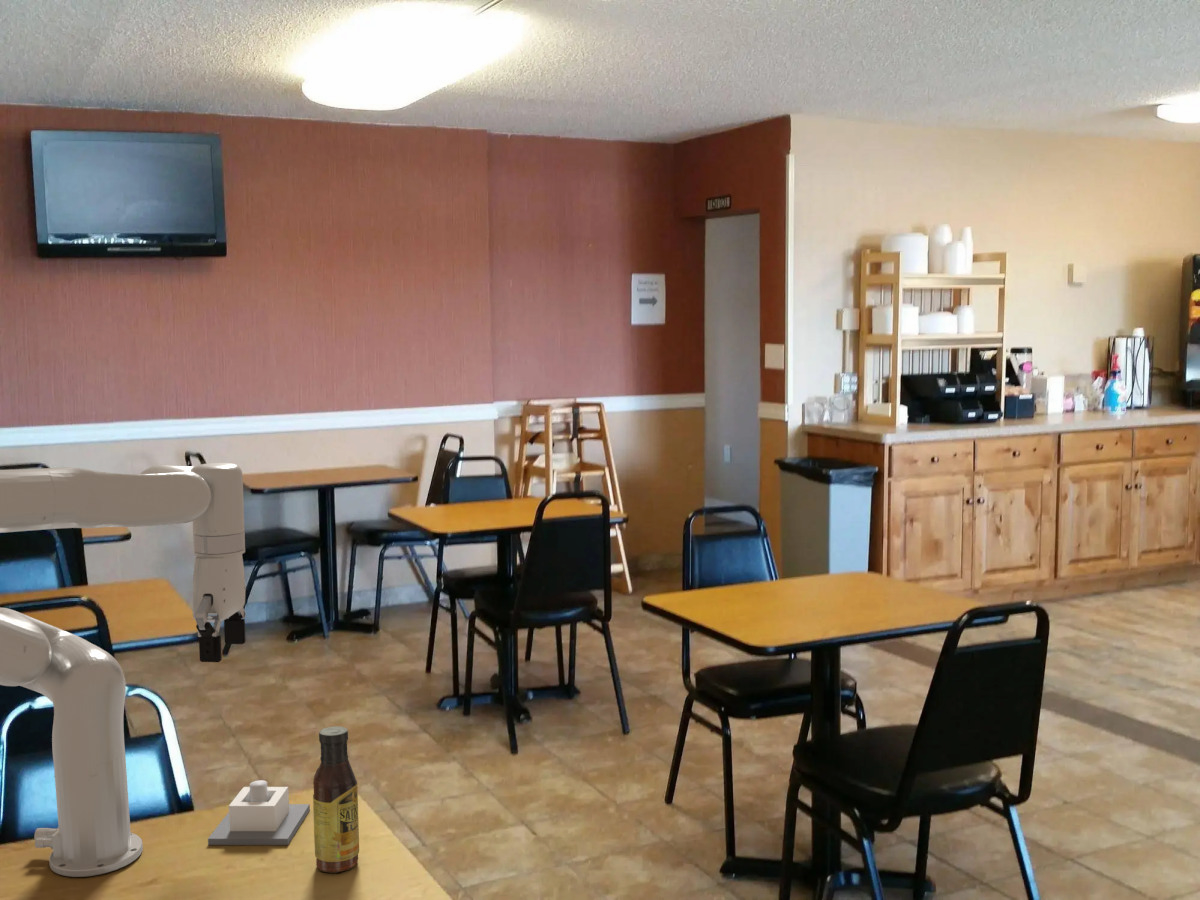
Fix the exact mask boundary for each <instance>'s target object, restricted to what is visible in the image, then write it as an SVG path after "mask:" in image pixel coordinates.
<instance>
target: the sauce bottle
mask: <svg viewBox="0 0 1200 900" xmlns="http://www.w3.org/2000/svg"><path fill="white" fill-rule="evenodd" d="M348 740H349V731H348V728H346V727H344V726H338V725H337V726H335V725H334V726H329V727H325V728H322V729H321V730H320V731H319V732H318V741H319V744H320V764H319V766H318V768H317V769H316V770H315V774H314V776H313V782H312V784H313V785H312V786H313V794H312V795H313V796H312V806H313V807H312V808H313V811H312V812H313V838H314V839H313V840H314V856H315V858H316V860H315V861H316V867H317V869H318V870H319V871H322V872H325V873H331V874H332V873H333V874H336V873H337V874H338V873H341V872H346V871H348V870H350V869H352V868H355V866H357V864H358V862H359V853H360V829H359V828H360V827H359V822H360V821H359V798H358V797H359V793H358V789H359V788H358V782H357V781H358V780H357V778H356V776H355V775H356V774H355V773H354V771H353V768H352V766H351V763H350V760H349V754H348Z"/></svg>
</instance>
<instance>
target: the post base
mask: <svg viewBox="0 0 1200 900" xmlns="http://www.w3.org/2000/svg"><path fill="white" fill-rule="evenodd" d="M249 787H250V802H268V789H267V787H268V781H266V780H264V779H263V780H262V779H261V780H260V779H259V780H254V781H252V782H250V783H249ZM310 806H311V805H310V803H307V804H305V803H303V804H302V803H297V804H295V803H289V812H288V814H287V815H286V817H285V818H284V820H283V821H282V823H281V824H280V826H279V827H278V829H277V830H276V831H230V822H229V811H228V812H227V814H226V815H225V816H224V817H223V819H222V820H221V821H220V823H219V824H218V825H217V826H216V828H215V829H214V830H213V831H212V833H211V834H210V835H209V836H208V838H207V845H208V846H289V844H290V843H291V841H292V840H293V838H294V836H295V834H296V833H297V831H298V830H299V829H300V827H301V825H302V824H303V822H304V820H305V819H306V817H307V816H308V814H309V812H310V811H311V808H310Z"/></svg>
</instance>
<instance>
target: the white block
mask: <svg viewBox="0 0 1200 900" xmlns="http://www.w3.org/2000/svg"><path fill="white" fill-rule="evenodd" d="M267 789H268V802H250V786H243V787H242V789H241V790H240V791H239V792H238V793H237V795H236V796H235V797H234V798H233V800H232V801H231V802H230V803H229V805H228V812H229V822H230V831H276V830H277V829H278V827H279V826H280V824H281V823H282V821H283V820H284V818H285V817H286V815H287V814H288V812H289V804H290V801H289V799H290V798H289V786H267Z"/></svg>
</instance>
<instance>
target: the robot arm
mask: <svg viewBox="0 0 1200 900" xmlns="http://www.w3.org/2000/svg"><path fill="white" fill-rule="evenodd" d="M244 506H245V505H244V477H243V471H242V469H241V467H240V466H238V464H236V463H231V462H208V463H202V464H198V465H191V466H189V465H188V466H187V465H186V466H185V465H166V464H165V465H162V464H161V465H154V466H152V467H149V468H146V469H145V470H143V471H142V472H140V473H134V474H133V473H116V472H114V473H113V472H108V471H107V472H106V471H101V470H100V471H99V470H94V469H88V468H80V467H66V466H65V467H64V466H63V467H47V468H25V469H22V468H21V469H0V534H1V533H14V532H15V533H17V532H27V531H42V530H53V529H55V530H57V529H58V530H59V529H72V528H73V529H97V528H98V529H99V528H100V529H101V528H137V527H138V528H141V527H142V528H143V527H158V526H167V525H169V526H170V525H171V526H172V525H180V524H181V525H183V524H187V523H191V522H192V533H193V534H192V535H193V537H192V539H193V556H194V557H195V559H194V565H193V575H192V578H193V579H192V618H193V620H195V622H196V626H195V628H196V630H197V637H198V647H199V648H198V651H199V662H202V663H220V662H221V661H222V658H223V657H222V636H221V635H219V632H220V629H221V625H222V622H223V629H224V632H223V635H224V643H225V644H227V645H243V644H245V643H246V619H245V617H246V610H245V606H246V602H247V601H246V590H247V587H246V579H245V578H246V577H245V568H244V559H243V554H245V553H246V539H245V537H246V536H245V535H246V534H245V533H246V532H245V513H244V512H245V511H244V510H245V509H244V508H245V507H244ZM212 623H213V625H212ZM126 685H127V684H126V677H125V674H124V671H123V669H122V666H121V665H120V663H119V662H118V661H117V659H116V658H115V657H114V656H113V655H112V654H110V652H108V651H106V650H104V649H103V648H101V647H100V646H97V645H96V644H93V643H91V642H90V641H88V640H87V639H84V638H83V637H80V636H78V635H76V634H74V633H71V632H69V631H66V630H64V629H61V628H59V627H57V626H54V625H52V624H49V623H46V622H44V621H41V620H39V619H36V618H34V617H31V616H29V615H28V614H27V615H26V614H24V613H22V612H19V611H16V610H14V609H11V608H7V607H0V686H3V687H4V686H5V687H18V686H20V687H23V688H26V689H28V690H31V691H34V692H35V693H36V692H37V693H39V694H41V695H42V696H44V697H46V699H48V700H49V701H50V702H52V705H53V714H54V715H53V724H52V734H51V737H52V738H51V742H52V743H51V744H52V745H51V746H52V748H51V749H52V762H53V769H54V770H53V772H54V784H55V795H56V797H55V798H56V811H57V824H58V826H57V828H51V827H37V828H36V829H35V832H34V847H35V848H37V849H38V848H39V849H40V848H43V849H44V848H50V849H51V850H52V852H51V854H50V855H49V858H48V861H49V868H50V869H51V870H52V871H53V872H54V873H56V874H58V875H59V876H60V875H61V876H65V877H72V878H83V877H84V878H85V877H93V876H99V875H103V874H107V873H111V872H113V871H117V870H120V869H122V868H123V867H124V868H125V867H126V866H127V865H130V864H131V863H133V862H134V861H135V860H137V859H139V857H140V856H141V854H142V853H143V849H144V846H143V845H144V844H143V840H142V838H141V837H140V836H139V835H137V834H136V833H133V832H132V831H131V819H130V806H129V805H130V804H129V790H128V775H127V773H128V772H127V759H126V749H125V748H126V747H125V732H124V731H125V730H124V714H125V712H124V711H125V702H126V701H125V700H126V689H127V688H126Z"/></svg>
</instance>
